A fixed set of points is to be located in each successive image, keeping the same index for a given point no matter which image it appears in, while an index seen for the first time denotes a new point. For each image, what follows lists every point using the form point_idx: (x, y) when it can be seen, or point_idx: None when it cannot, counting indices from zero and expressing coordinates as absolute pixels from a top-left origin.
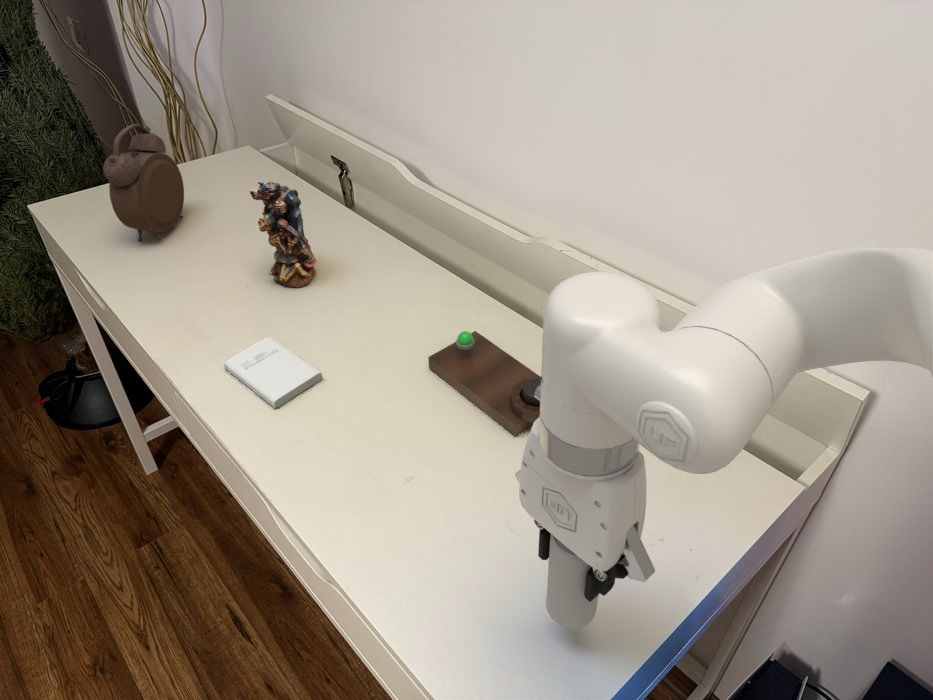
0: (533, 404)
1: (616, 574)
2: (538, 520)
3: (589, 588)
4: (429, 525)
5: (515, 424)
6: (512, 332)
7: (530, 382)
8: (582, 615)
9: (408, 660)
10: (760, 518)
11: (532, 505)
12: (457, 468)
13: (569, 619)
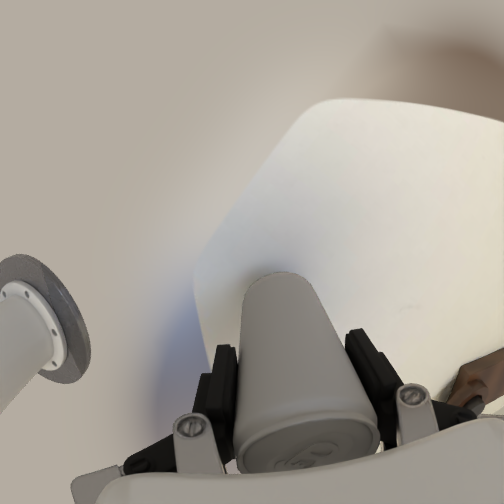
0: (468, 402)
1: (142, 459)
2: (430, 452)
3: (215, 373)
4: (469, 231)
5: (470, 375)
6: (497, 404)
7: (480, 411)
8: (243, 311)
9: (362, 99)
10: None
11: (480, 476)
12: (484, 299)
13: (255, 291)
